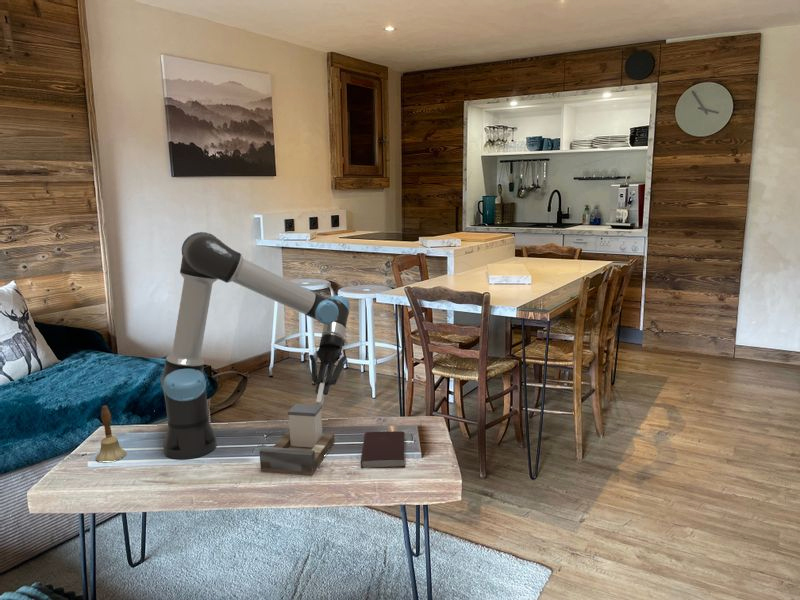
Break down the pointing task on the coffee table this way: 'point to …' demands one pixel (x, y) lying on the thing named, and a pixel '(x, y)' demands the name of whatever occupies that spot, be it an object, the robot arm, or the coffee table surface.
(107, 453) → the hand bell
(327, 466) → the coffee table surface
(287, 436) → the dark open tray
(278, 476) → the coffee table surface
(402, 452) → the book
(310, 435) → the beige upright block
